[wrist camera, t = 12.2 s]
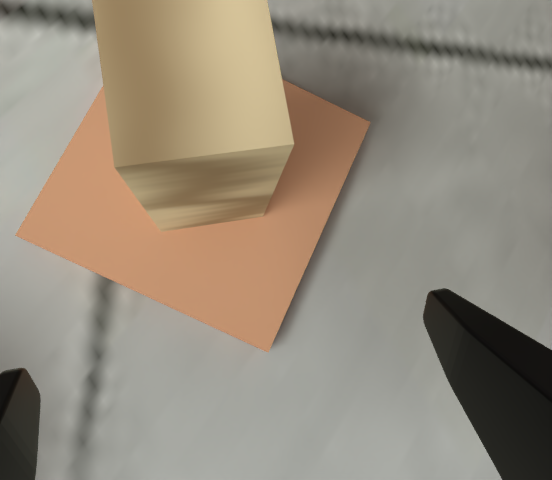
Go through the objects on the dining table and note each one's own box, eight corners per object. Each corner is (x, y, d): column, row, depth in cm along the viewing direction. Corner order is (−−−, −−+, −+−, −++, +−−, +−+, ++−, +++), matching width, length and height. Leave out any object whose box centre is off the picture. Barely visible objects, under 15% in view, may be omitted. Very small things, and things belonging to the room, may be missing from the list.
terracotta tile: (363, 131, 26) (370, 122, 25) (265, 350, 23) (268, 352, 22) (149, 26, 25) (146, 12, 24) (25, 239, 23) (15, 235, 22)
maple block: (246, 121, 24) (264, -15, 14) (263, 216, 23) (294, 143, 13) (146, 133, 23) (91, -1, 13) (160, 231, 22) (114, 167, 13)
